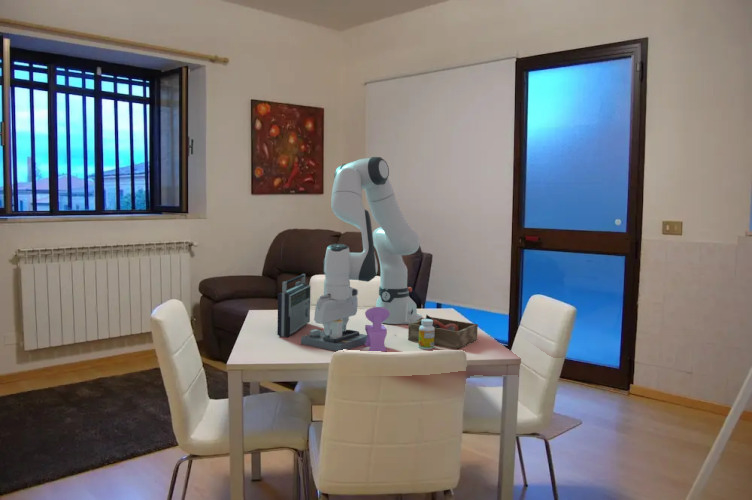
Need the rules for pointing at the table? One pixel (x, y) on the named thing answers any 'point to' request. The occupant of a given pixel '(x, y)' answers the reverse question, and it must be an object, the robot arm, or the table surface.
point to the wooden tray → (447, 333)
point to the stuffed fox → (440, 325)
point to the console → (334, 340)
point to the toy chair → (376, 328)
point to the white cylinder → (336, 329)
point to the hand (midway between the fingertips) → (335, 332)
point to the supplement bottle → (426, 334)
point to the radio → (293, 307)
